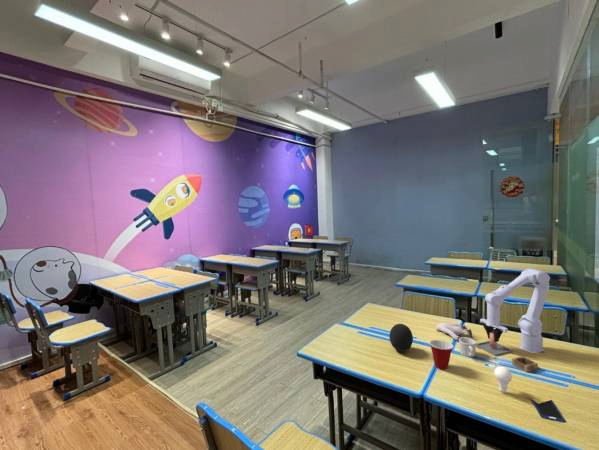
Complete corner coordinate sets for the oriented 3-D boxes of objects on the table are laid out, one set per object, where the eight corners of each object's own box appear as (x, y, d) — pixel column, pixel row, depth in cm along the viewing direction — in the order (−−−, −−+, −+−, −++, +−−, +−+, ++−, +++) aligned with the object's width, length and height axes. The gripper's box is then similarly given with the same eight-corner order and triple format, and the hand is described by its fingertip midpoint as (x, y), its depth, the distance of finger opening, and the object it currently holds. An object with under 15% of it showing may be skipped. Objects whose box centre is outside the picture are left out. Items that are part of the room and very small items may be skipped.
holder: (522, 363, 140) (522, 356, 140) (537, 370, 133) (537, 363, 133) (511, 365, 138) (511, 358, 138) (526, 373, 131) (526, 366, 131)
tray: (491, 342, 161) (491, 340, 161) (512, 353, 149) (512, 350, 149) (475, 346, 158) (475, 343, 158) (495, 357, 146) (495, 354, 146)
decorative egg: (399, 342, 165) (398, 318, 164) (417, 351, 155) (417, 325, 154) (385, 349, 159) (384, 323, 158) (403, 358, 148) (403, 331, 147)
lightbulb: (512, 399, 115) (512, 373, 114) (494, 394, 118) (494, 369, 118) (510, 390, 120) (511, 365, 120) (493, 386, 124) (493, 362, 123)
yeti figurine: (476, 336, 173) (442, 326, 188) (477, 325, 173) (443, 316, 188) (466, 345, 160) (430, 334, 175) (466, 333, 160) (431, 323, 174)
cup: (481, 362, 142) (481, 347, 141) (464, 361, 143) (464, 346, 143) (472, 351, 152) (472, 337, 152) (456, 350, 154) (456, 336, 153)
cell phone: (541, 418, 105) (541, 416, 105) (528, 395, 117) (528, 393, 117) (566, 424, 102) (566, 422, 102) (550, 399, 114) (550, 397, 114)
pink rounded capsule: (492, 344, 155) (492, 331, 155) (498, 347, 152) (498, 333, 152) (488, 345, 154) (488, 332, 154) (493, 348, 151) (493, 334, 151)
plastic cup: (453, 363, 142) (453, 340, 141) (453, 375, 133) (453, 350, 132) (430, 358, 147) (429, 336, 146) (428, 369, 138) (428, 346, 137)
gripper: (476, 312, 158) (476, 335, 159) (500, 321, 144) (500, 347, 145) (485, 310, 160) (485, 333, 161) (510, 319, 146) (510, 345, 147)
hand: (493, 339), depth 153 cm, fingers closed on pink rounded capsule, 3 cm apart
